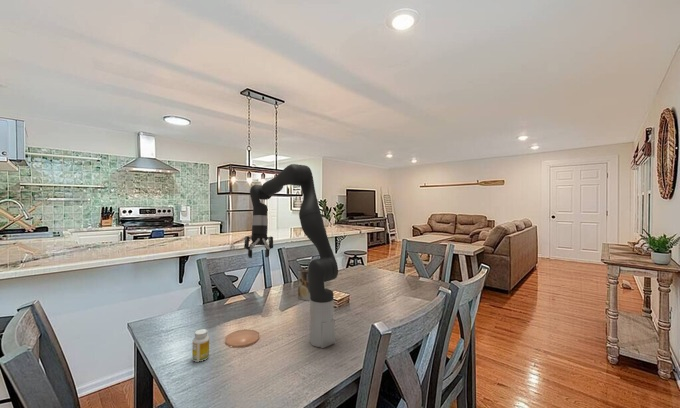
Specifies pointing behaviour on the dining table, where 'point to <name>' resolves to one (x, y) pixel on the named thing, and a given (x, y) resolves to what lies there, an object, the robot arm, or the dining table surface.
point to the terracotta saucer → (242, 338)
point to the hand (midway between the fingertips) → (258, 257)
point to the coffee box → (303, 285)
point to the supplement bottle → (200, 346)
